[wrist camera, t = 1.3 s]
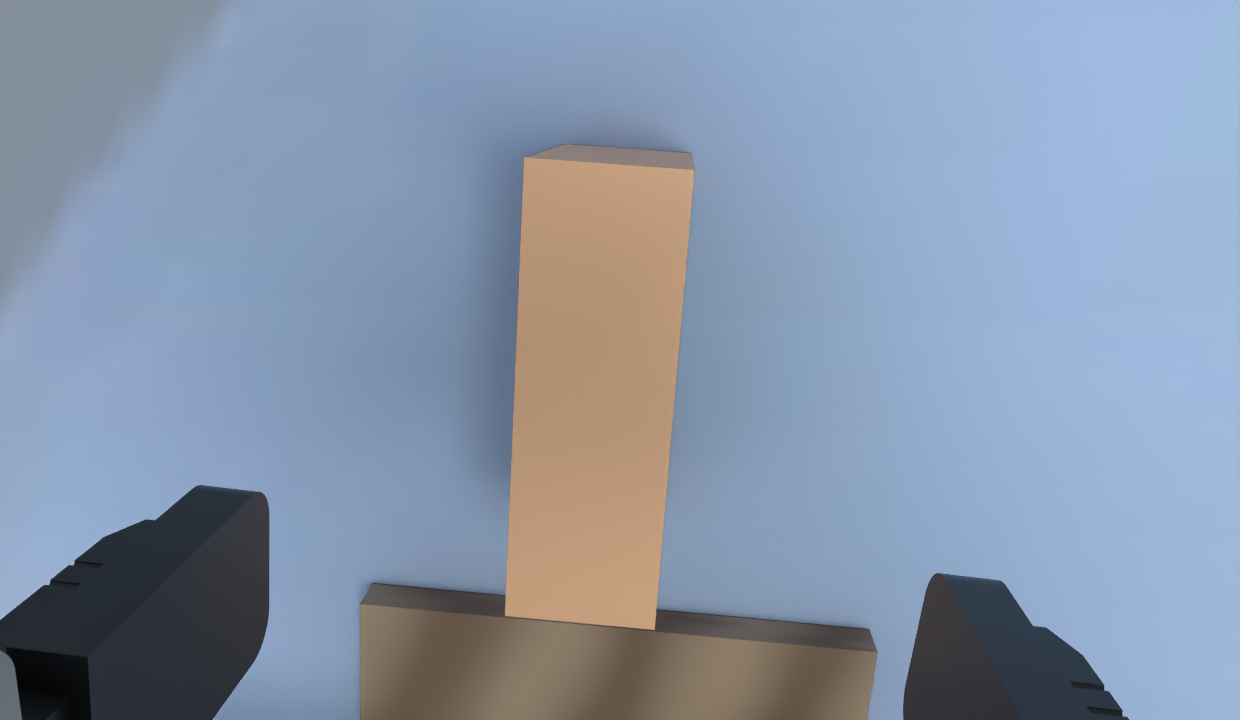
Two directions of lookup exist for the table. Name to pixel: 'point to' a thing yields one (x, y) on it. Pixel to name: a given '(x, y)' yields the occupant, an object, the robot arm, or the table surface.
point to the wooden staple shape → (595, 380)
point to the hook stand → (600, 665)
